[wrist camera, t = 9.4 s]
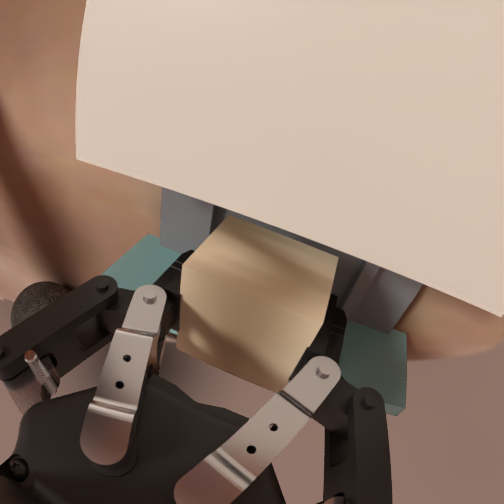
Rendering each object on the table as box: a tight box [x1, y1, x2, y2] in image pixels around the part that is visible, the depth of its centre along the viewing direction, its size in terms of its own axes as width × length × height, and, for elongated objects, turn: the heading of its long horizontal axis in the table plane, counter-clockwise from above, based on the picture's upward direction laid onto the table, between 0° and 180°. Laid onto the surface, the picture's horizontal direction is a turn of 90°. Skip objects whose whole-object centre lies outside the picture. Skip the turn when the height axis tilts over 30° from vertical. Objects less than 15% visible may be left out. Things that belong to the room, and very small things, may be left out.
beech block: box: [177, 215, 338, 393], centre depth 13 cm, size 5×5×4 cm
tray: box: [102, 187, 423, 416], centre depth 14 cm, size 17×20×6 cm
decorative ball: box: [11, 282, 70, 328], centre depth 31 cm, size 10×10×10 cm
